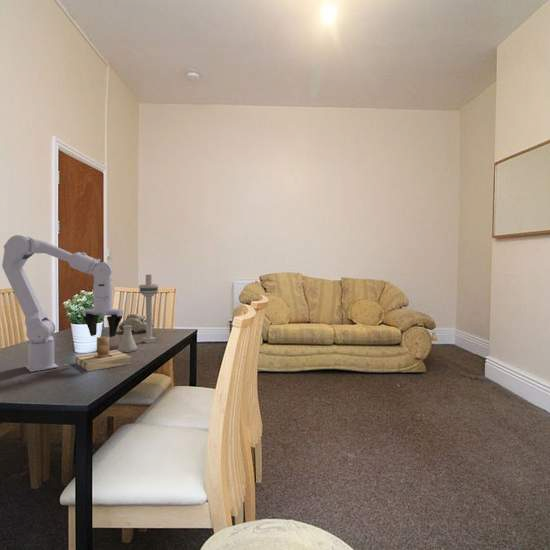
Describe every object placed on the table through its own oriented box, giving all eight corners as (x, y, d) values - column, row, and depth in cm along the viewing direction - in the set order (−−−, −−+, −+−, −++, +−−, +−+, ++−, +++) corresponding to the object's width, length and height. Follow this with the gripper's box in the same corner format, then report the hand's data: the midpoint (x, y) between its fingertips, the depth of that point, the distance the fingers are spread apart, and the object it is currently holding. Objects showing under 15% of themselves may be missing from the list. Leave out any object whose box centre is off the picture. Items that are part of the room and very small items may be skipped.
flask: (128, 353, 147) (128, 327, 147) (113, 351, 149) (113, 326, 149) (141, 349, 154) (140, 325, 153) (126, 348, 156) (126, 324, 156)
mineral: (148, 329, 186) (152, 310, 191) (113, 327, 186) (118, 308, 191) (155, 337, 197) (158, 319, 202) (122, 335, 197) (126, 317, 202)
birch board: (75, 363, 132) (75, 355, 132) (116, 356, 142) (116, 349, 142) (88, 371, 122) (88, 363, 122) (131, 363, 131) (131, 356, 131)
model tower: (162, 341, 169) (162, 274, 168) (144, 344, 163) (144, 275, 162) (153, 338, 175) (152, 274, 174) (135, 341, 169) (135, 274, 168)
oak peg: (94, 364, 130) (94, 338, 130) (101, 361, 134) (101, 336, 134) (104, 365, 129) (105, 339, 129) (111, 362, 133) (111, 336, 133)
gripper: (76, 297, 129) (76, 337, 129) (113, 298, 126) (114, 339, 126) (90, 295, 136) (90, 333, 136) (126, 296, 132) (126, 335, 133)
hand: (102, 335), depth 131 cm, fingers open, 7 cm apart
